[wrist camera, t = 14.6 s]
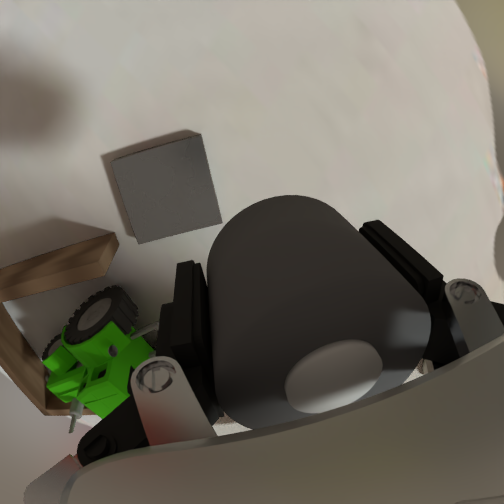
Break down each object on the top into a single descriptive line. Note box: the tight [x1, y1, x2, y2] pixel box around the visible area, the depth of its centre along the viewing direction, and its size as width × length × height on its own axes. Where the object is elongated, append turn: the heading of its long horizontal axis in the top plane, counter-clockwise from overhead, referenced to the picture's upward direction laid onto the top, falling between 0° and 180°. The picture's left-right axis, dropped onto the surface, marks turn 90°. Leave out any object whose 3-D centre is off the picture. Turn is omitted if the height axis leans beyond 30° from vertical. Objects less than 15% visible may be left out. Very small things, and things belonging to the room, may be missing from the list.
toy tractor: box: [42, 285, 159, 433], centre depth 25 cm, size 11×16×10 cm
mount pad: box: [111, 134, 222, 244], centre depth 23 cm, size 7×7×1 cm
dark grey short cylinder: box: [207, 195, 431, 430], centre depth 9 cm, size 6×6×5 cm
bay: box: [0, 232, 119, 416], centre depth 26 cm, size 18×17×5 cm
